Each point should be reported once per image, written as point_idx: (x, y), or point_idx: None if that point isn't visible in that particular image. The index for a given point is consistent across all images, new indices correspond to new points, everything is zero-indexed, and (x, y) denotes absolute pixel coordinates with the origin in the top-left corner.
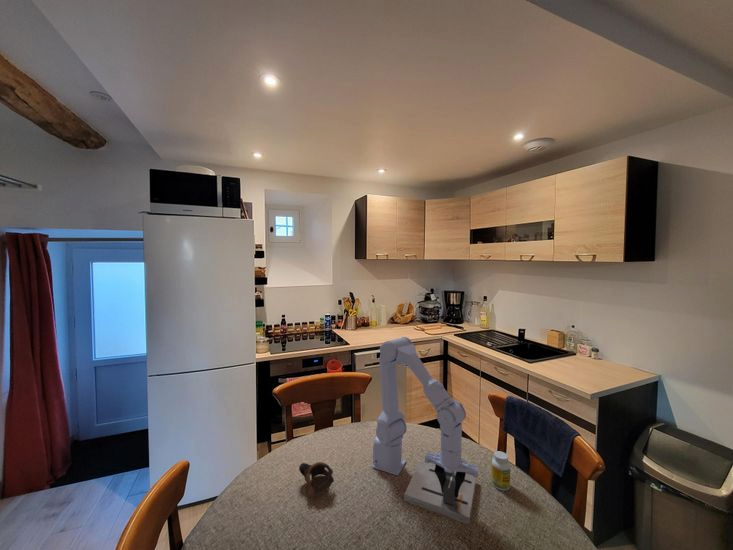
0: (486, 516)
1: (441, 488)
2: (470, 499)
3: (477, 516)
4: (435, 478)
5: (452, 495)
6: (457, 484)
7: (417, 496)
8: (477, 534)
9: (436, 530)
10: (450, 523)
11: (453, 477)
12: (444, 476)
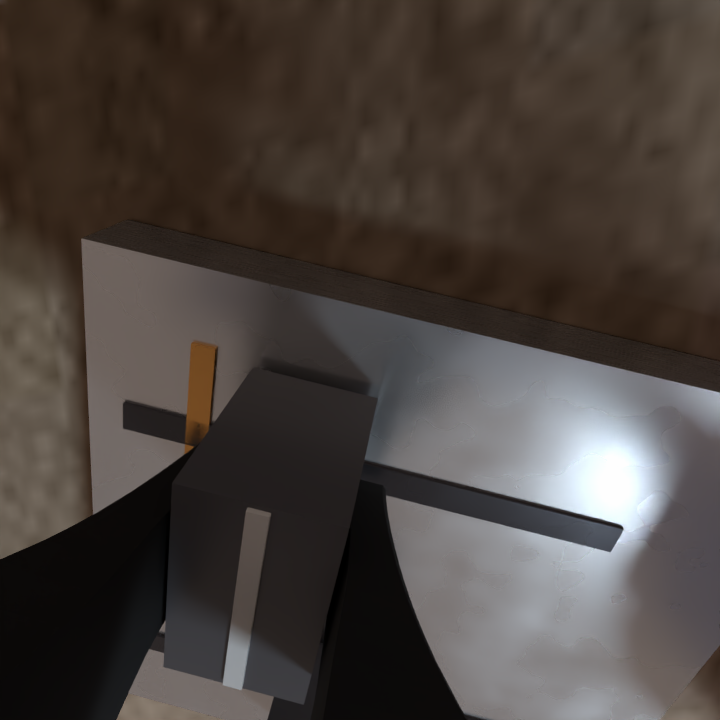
0: (5, 349)
1: (386, 521)
2: (107, 467)
3: (73, 334)
4: (449, 653)
5: (234, 433)
6: (78, 565)
7: (700, 421)
8: (40, 116)
9: (473, 36)
10: (310, 189)
11: (211, 678)
12: (319, 693)
